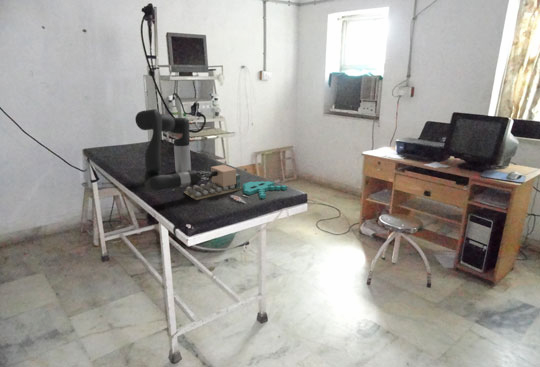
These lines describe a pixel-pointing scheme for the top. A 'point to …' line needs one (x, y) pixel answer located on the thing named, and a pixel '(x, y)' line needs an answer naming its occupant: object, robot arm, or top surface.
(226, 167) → the tan cardboard box
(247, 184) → the alien figure
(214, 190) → the roller track
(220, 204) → the top surface
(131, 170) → the top surface
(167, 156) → the top surface
